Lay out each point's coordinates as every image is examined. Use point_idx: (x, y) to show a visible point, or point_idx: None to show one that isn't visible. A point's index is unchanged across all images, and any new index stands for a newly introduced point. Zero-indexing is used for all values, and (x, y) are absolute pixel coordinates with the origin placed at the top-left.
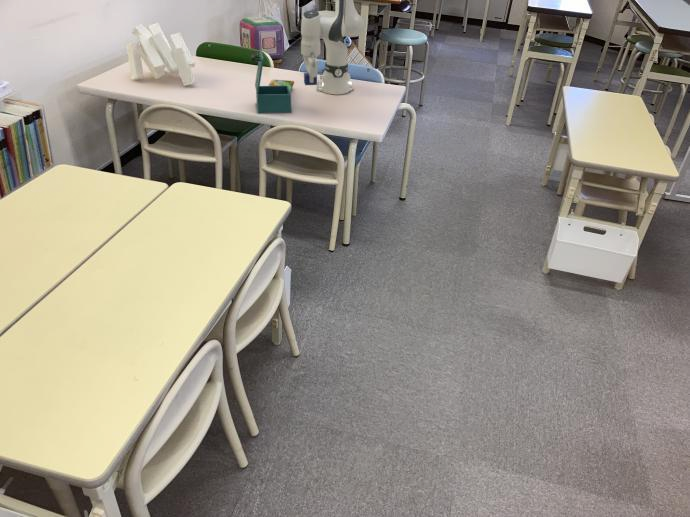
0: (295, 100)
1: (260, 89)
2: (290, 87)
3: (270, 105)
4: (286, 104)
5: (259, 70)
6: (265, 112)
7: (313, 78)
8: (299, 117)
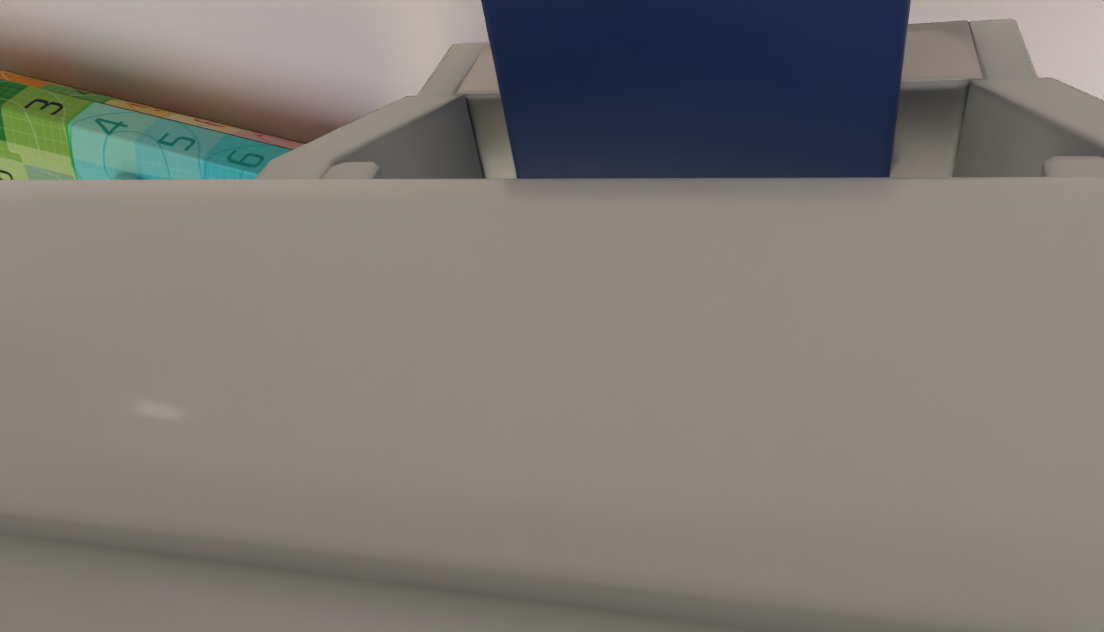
0: (321, 29)
1: None
2: (89, 135)
3: None
4: None
5: None
6: None
7: (1070, 96)
8: (1055, 28)
